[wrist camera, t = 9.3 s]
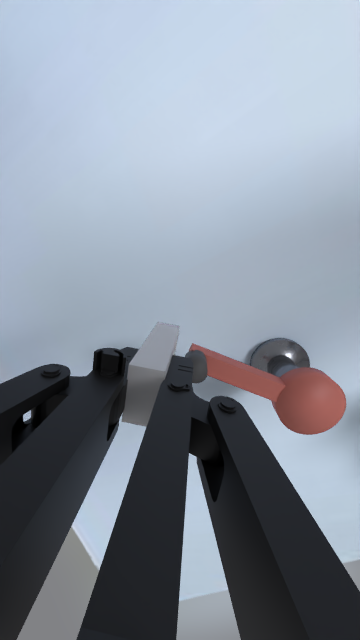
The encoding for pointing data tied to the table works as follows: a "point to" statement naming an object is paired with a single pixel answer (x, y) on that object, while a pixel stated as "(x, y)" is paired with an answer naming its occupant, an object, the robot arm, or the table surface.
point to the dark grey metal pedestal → (279, 356)
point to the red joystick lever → (278, 390)
